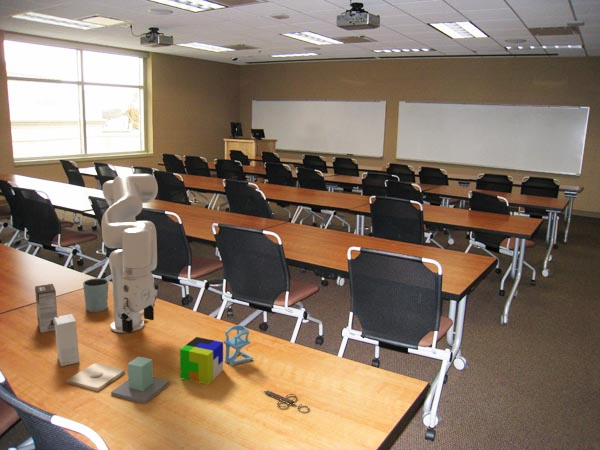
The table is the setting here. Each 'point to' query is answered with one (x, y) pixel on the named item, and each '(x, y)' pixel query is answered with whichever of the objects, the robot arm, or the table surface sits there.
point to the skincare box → (66, 339)
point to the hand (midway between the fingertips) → (138, 325)
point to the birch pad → (95, 376)
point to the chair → (237, 344)
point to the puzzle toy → (201, 360)
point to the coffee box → (46, 307)
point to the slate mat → (138, 395)
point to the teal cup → (96, 294)
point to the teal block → (140, 373)
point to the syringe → (281, 398)
